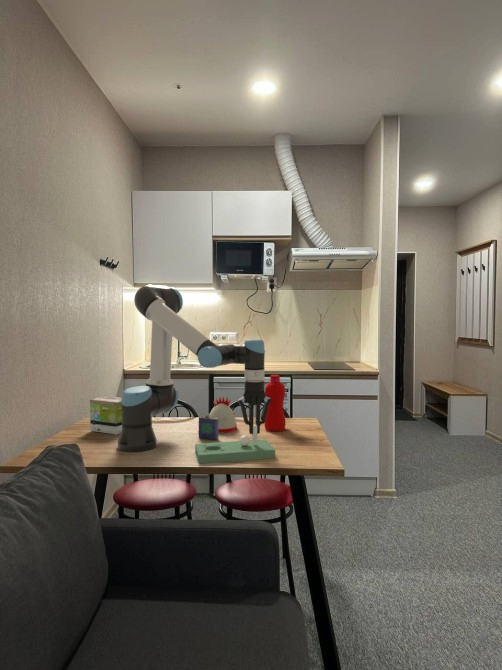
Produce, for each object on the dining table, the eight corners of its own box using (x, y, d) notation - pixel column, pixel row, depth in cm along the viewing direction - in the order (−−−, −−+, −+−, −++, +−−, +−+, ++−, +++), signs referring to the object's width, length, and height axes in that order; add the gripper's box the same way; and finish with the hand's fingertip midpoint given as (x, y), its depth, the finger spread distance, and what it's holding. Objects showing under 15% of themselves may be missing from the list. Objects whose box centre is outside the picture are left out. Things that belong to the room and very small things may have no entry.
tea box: (89, 431, 200) (88, 399, 199) (104, 426, 209) (104, 395, 208) (116, 435, 194) (116, 401, 193) (131, 429, 203) (130, 397, 203)
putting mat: (198, 463, 156) (198, 455, 156) (195, 451, 170) (195, 443, 170) (275, 457, 162) (275, 449, 162) (265, 446, 176) (265, 439, 176)
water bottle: (286, 426, 208) (286, 373, 207) (284, 432, 197) (284, 376, 196) (267, 425, 210) (266, 373, 209) (263, 431, 199) (263, 376, 198)
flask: (219, 438, 188) (219, 413, 187) (216, 440, 185) (216, 415, 184) (200, 436, 191) (199, 412, 191) (196, 438, 188) (196, 413, 188)
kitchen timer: (235, 432, 197) (235, 399, 197) (205, 432, 198) (204, 399, 197) (237, 425, 211) (237, 393, 210) (208, 425, 211) (208, 393, 211)
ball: (240, 447, 164) (240, 437, 164) (238, 444, 168) (238, 434, 168) (251, 447, 165) (250, 436, 165) (248, 444, 169) (248, 433, 169)
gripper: (239, 382, 161) (239, 446, 163) (273, 381, 164) (273, 444, 165) (235, 379, 169) (235, 440, 170) (268, 378, 172) (268, 438, 173)
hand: (254, 442), depth 168 cm, fingers closed
